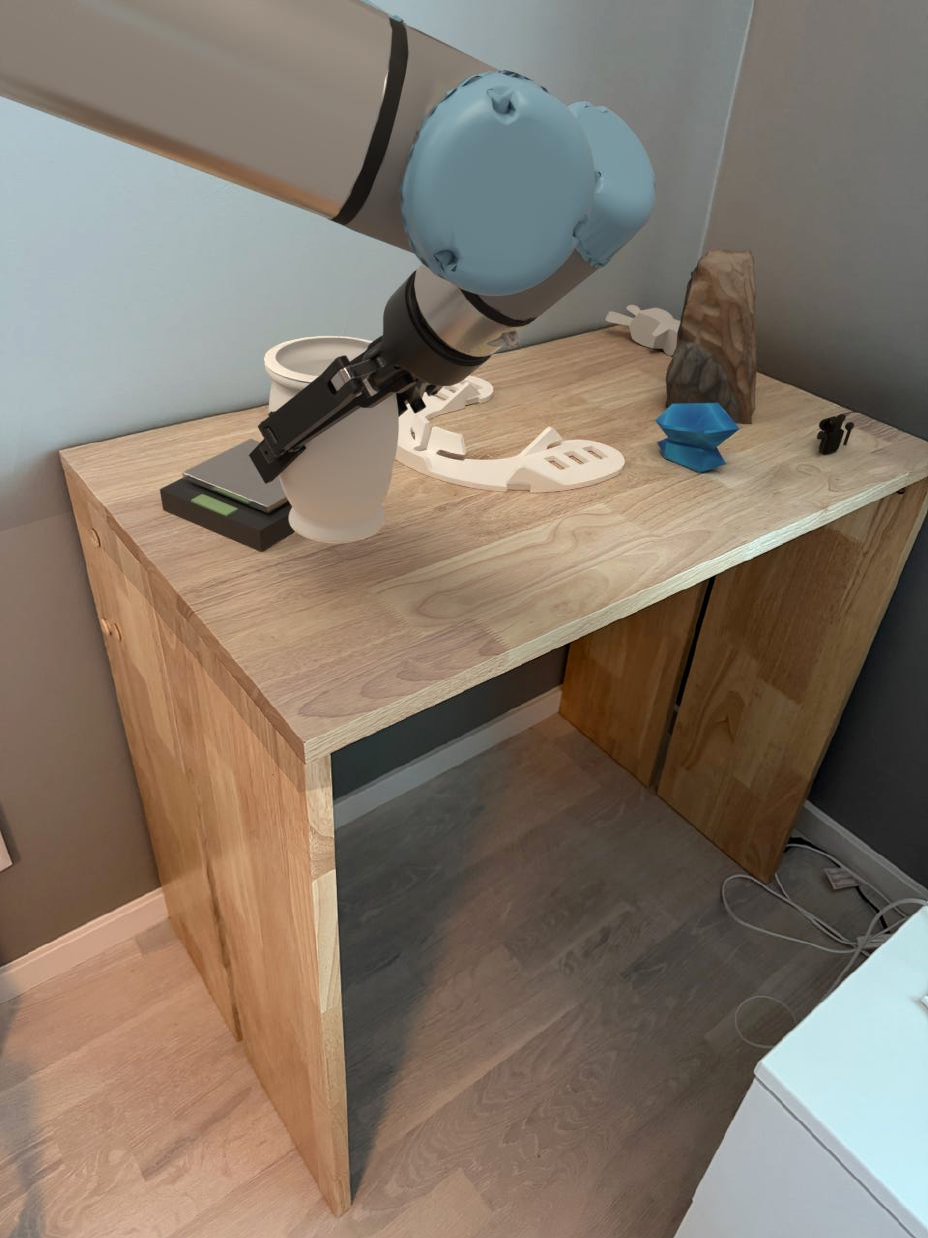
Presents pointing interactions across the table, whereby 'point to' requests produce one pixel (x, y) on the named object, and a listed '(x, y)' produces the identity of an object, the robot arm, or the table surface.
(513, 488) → the cable organizer
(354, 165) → the robot arm
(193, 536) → the table surface
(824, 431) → the wireless earbuds
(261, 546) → the scale
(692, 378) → the brown rock
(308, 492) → the jar
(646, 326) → the bunny figurine
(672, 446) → the crystal
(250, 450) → the scale platform
